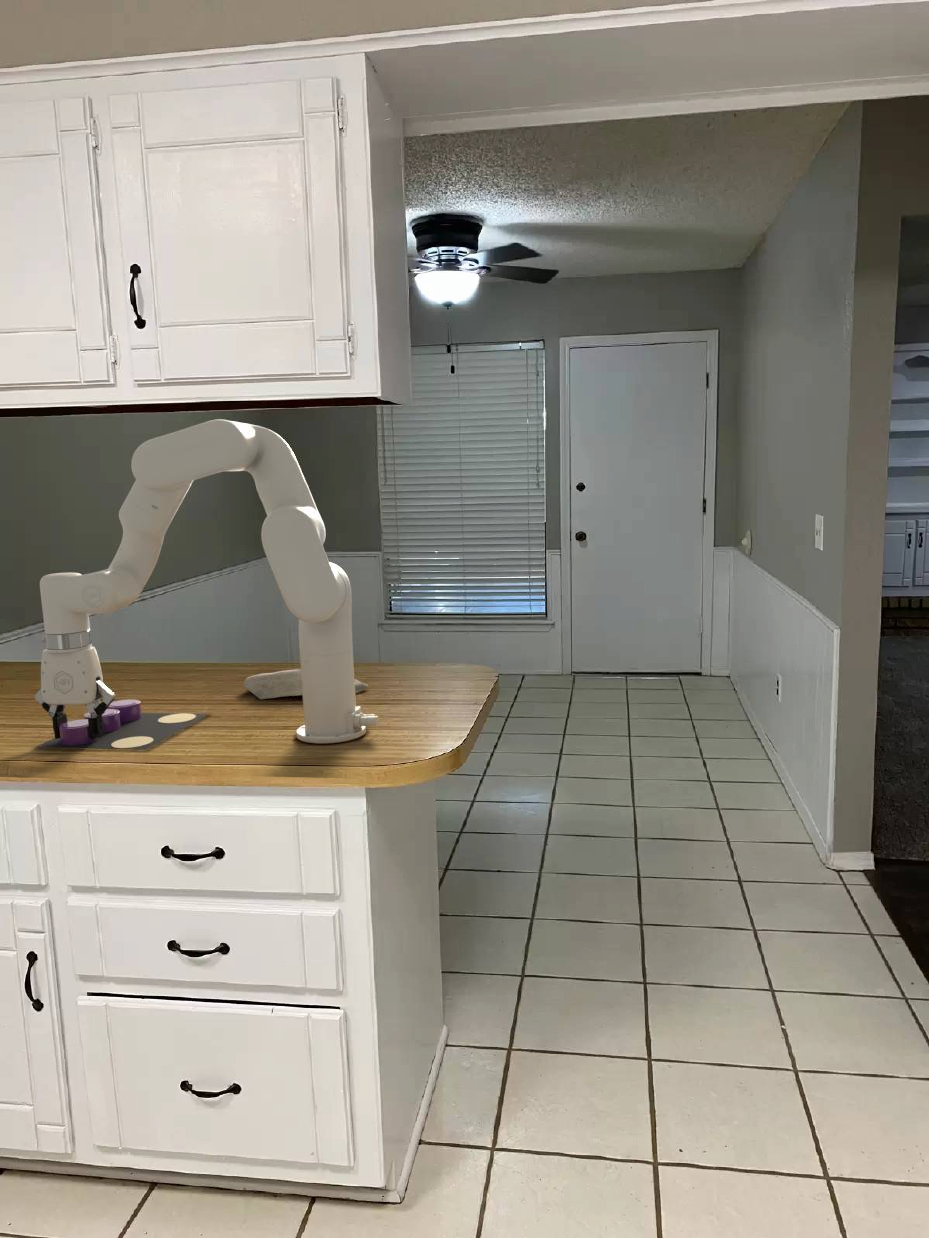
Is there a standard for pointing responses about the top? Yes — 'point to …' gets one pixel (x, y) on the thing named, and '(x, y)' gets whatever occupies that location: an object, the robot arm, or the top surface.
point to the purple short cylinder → (75, 733)
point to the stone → (282, 684)
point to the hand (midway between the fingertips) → (79, 736)
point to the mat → (137, 732)
